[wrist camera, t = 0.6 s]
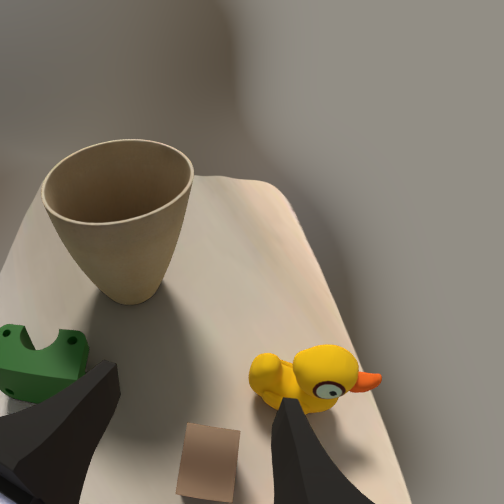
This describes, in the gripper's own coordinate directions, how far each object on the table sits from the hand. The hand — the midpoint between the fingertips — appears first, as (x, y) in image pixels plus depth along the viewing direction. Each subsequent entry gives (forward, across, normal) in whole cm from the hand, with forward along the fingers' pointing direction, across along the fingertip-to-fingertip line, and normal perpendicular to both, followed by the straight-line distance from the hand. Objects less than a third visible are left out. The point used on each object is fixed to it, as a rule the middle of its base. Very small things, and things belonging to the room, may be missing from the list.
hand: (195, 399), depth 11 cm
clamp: (+10, +17, +14) cm, 24 cm away
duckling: (+14, -9, +13) cm, 21 cm away
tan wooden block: (+6, -1, +17) cm, 18 cm away
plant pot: (+24, +12, +8) cm, 28 cm away
